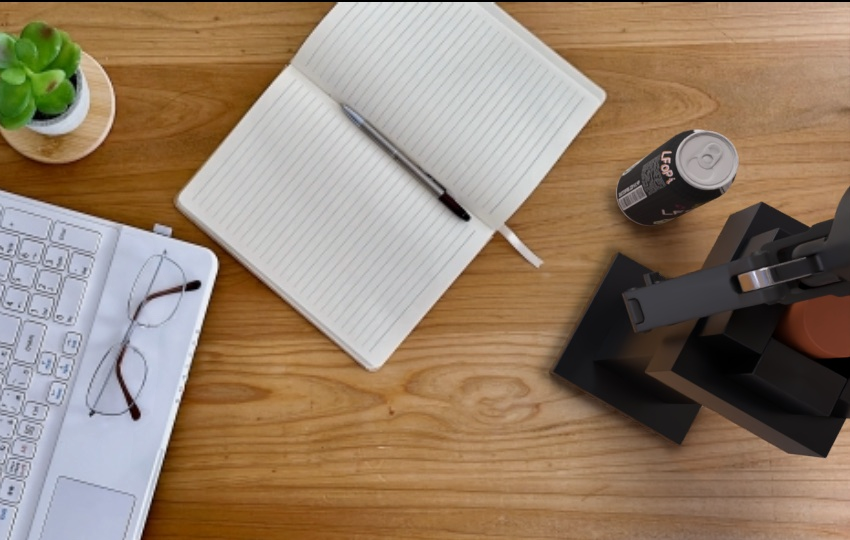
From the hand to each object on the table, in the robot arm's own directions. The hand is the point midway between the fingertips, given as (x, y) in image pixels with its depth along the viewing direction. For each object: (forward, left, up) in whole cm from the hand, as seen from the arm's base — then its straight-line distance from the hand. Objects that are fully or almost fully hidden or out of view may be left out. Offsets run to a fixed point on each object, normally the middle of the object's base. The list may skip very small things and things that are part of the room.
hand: (728, 286), depth 58 cm
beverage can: (+9, +4, -17) cm, 20 cm away
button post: (-2, -2, -17) cm, 17 cm away
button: (-3, -2, +8) cm, 8 cm away
